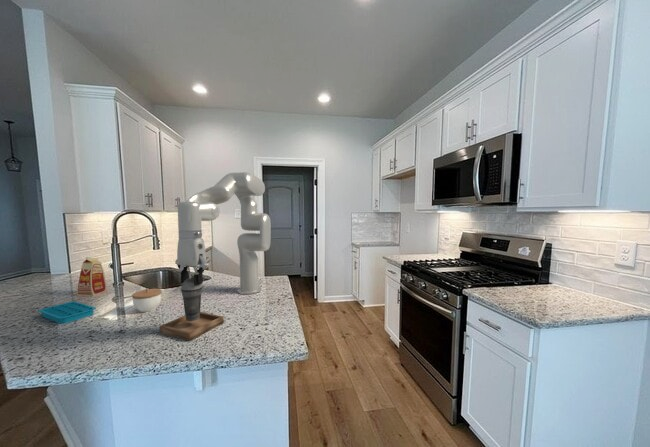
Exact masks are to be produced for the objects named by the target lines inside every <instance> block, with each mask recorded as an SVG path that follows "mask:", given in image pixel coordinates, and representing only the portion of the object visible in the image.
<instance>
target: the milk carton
mask: <svg viewBox="0 0 650 447" xmlns="http://www.w3.org/2000/svg"><path fill="white" fill-rule="evenodd" d="M107 291H108V289H107V282H106V276H105V271H104V267H103V264H102V262H101V261H100V260H99V257H87V256H86V257H85V260H84V261H83V262H82V265H81V269H80V272H79V278H78V282H77V291H76V296H77V297H95V296H98V295H101V294H103V293H106V292H107Z"/></svg>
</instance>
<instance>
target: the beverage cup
mask: <svg viewBox="0 0 650 447" xmlns="http://www.w3.org/2000/svg"><path fill="white" fill-rule="evenodd" d="M188 272H189V278H188V279H186V280H185V281H184V282H183V283H181V288H180V291H181V295H182V300H183V308H184V309H183V310H184V316H186V321H195V320H197V319H199V318H200V312H201V306H202V303H201V302H202V292H203V283H202V284H199V285H194V276H193V277H192V276H191V268H190V266H188Z"/></svg>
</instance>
